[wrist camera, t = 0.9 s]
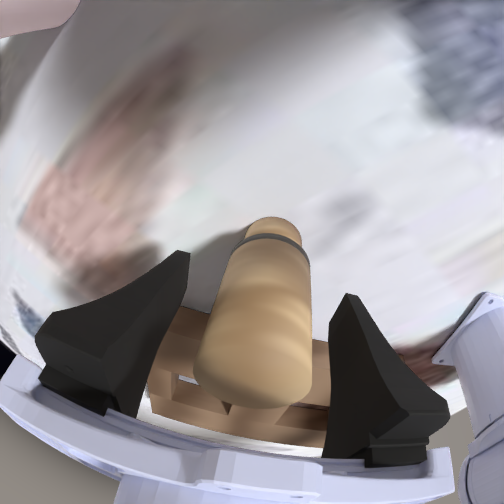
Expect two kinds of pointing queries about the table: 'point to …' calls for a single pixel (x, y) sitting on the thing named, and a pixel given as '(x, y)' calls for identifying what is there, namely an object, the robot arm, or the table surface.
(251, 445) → the table surface
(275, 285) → the oak peg
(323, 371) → the walnut board
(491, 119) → the table surface
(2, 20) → the smoothie
